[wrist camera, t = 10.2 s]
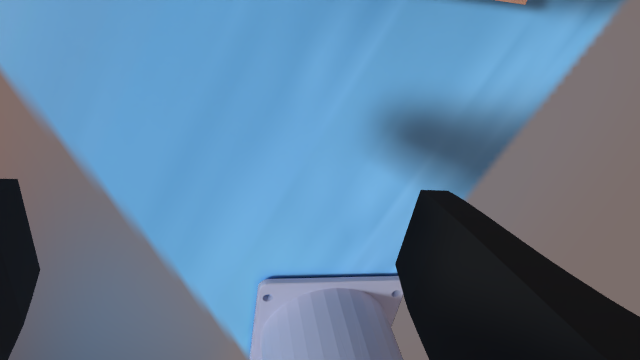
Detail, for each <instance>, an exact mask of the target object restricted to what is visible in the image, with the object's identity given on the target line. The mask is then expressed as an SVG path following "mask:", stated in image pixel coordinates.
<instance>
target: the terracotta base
mask: <svg viewBox="0 0 640 360" xmlns="http://www.w3.org/2000/svg"><path fill="white" fill-rule="evenodd" d="M497 1H504V2H511V3H518V4H524V5H525V4H526V2H527V0H497Z"/></svg>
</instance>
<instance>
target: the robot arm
mask: <svg viewBox="0 0 640 360" xmlns="http://www.w3.org/2000/svg"><path fill="white" fill-rule="evenodd" d="M396 268H397V272H398V276H376V277H332V278H289V279H265V280H263V281H261V282H260V283H259V285H258V291H257V300H256V308H255V316H254V325H253V333H252V342H251V350H250V358H249V360H403V358H402V355H401V353H400V350H399V347H398V345H397V342H396V339H395V337H394V334H393V332H392V329H391V326H392V323H393V321H394V318H395V315H396V313H397V310H398V307H399V305H400V302H401V299H402V297H403V294H404V298H405V301H406V304H407V308H408V310H409V313H410V315H411V318H412V320H413V323H414V325H415V327H416V330H417V332H418V334H419V337H420V339H421V341H422V344H423V346H424V348H425V351H426V353H427V355H428V357H429V360H640V317H639V316H637V315H636V314H634V313H632V312H630V311H628V310H627V309H625V308H624V307H622V306H620V305H619V304H617V303H615V302H614V301H612V300H610V299H609V298H607V297H605V296H604V295H602V294H601V293H599V292H597V291H596V290H594V289H593V288H591V287H590V286H588V285H587V284H585V283H583V282H582V281H580V280H579V279H577V278H576V277H574V276H573V275H571V274H569V273H568V272H566V271H565V270H564V269H562V268H560V267H559V266H558V265H556V264H554V263H553V262H552V261H550V260H549V259H547V258H546V257H544V256H543V255H541V254H540V253H538V252H537V251H536V250H534V249H533V248H531V247H530V246H529V245H527V244H526V243H524V242H523V241H521V240H520V239H519V238H517V237H516V236H514V235H513V234H511V233H510V232H509V231H507V230H506V229H504V228H503V227H502V226H500V225H499V224H497V223H496V222H495V221H493V220H492V219H490V218H489V217H488V216H486V215H485V214H483V213H482V212H480V211H479V210H477V209H476V208H475V207H473V206H472V205H470V204H469V203H467V202H466V201H464V200H463V199H461V198H459V197H458V196H456V195H454V194H453V193H451V192H449V191H436V190H421V191H420V194H419V197H418V199H417V202H416V205H415V208H414V211H413V214H412V217H411V220H410V223H409V226H408V229H407V232H406V234H405V237H404V240H403V243H402V246H401V249H400V252H399V255H398V258H397V261H396ZM39 272H40V267H39V263H38V259H37V255H36V251H35V247H34V243H33V239H32V235H31V231H30V227H29V223H28V219H27V215H26V211H25V207H24V203H23V199H22V195H21V191H20V187H19V183H18V180H17V179H0V360H8V358H9V356H10V354H11V352H12V349H13V347H14V345H15V343H16V340H17V338H18V336H19V334H20V331H21V329H22V327H23V325H24V321H25V319H26V315H27V312H28V309H29V306H30V303H31V300H32V296H33V292H34V289H35V286H36V282H37V279H38V275H39ZM268 294H269V295H268ZM266 295H267V296H266Z"/></svg>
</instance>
